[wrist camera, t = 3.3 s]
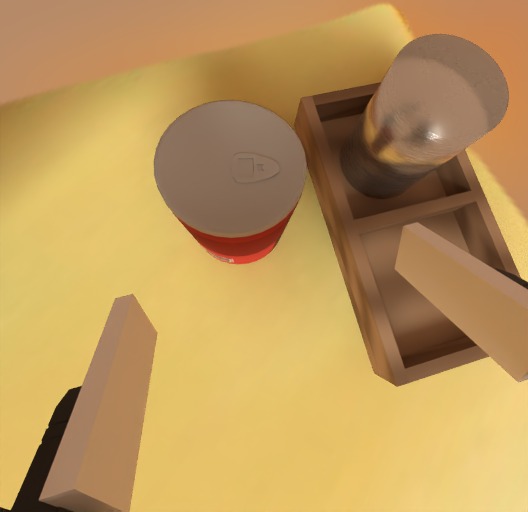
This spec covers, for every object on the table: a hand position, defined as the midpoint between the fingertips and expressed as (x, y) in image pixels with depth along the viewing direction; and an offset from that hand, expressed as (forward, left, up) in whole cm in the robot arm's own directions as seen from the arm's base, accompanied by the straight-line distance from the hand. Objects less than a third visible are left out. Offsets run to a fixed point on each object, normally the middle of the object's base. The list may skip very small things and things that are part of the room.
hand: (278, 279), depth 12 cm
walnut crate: (+7, +12, -11) cm, 18 cm away
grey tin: (+2, +16, -11) cm, 20 cm away
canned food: (-5, +3, -11) cm, 13 cm away
